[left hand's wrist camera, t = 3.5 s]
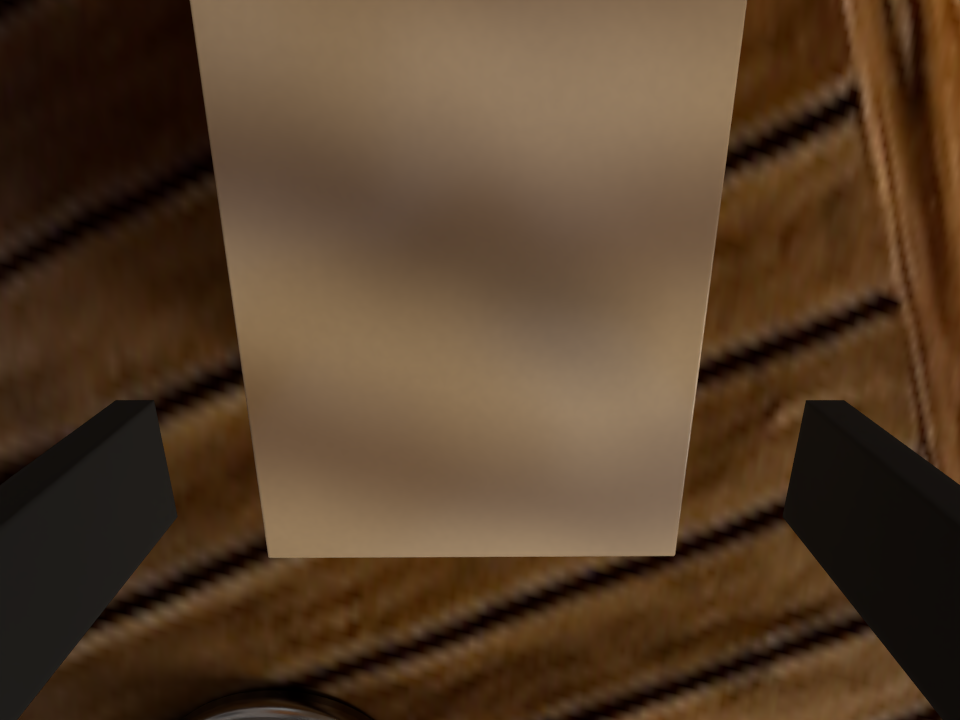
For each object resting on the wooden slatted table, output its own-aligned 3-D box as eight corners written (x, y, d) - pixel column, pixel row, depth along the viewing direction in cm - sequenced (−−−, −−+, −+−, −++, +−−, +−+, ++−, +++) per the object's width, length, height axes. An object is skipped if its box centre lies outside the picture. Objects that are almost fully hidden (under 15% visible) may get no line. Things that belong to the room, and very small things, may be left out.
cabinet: (314, -104, 22) (135, -377, 10) (627, -104, 22) (797, -373, 10) (352, 388, 28) (267, 558, 17) (594, 387, 28) (675, 556, 17)
